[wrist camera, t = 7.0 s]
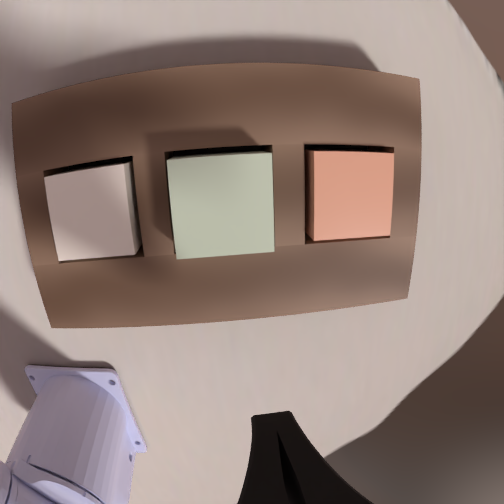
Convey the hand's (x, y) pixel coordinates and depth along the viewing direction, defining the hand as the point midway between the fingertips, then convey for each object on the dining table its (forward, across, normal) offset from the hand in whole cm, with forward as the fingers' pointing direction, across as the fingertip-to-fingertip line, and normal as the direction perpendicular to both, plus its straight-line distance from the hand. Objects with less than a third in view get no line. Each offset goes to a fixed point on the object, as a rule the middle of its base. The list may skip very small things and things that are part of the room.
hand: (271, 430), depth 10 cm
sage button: (+8, +1, -7) cm, 11 cm away
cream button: (+9, +7, -7) cm, 13 cm away
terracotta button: (+9, -5, -7) cm, 12 cm away
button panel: (+9, +1, -7) cm, 12 cm away
